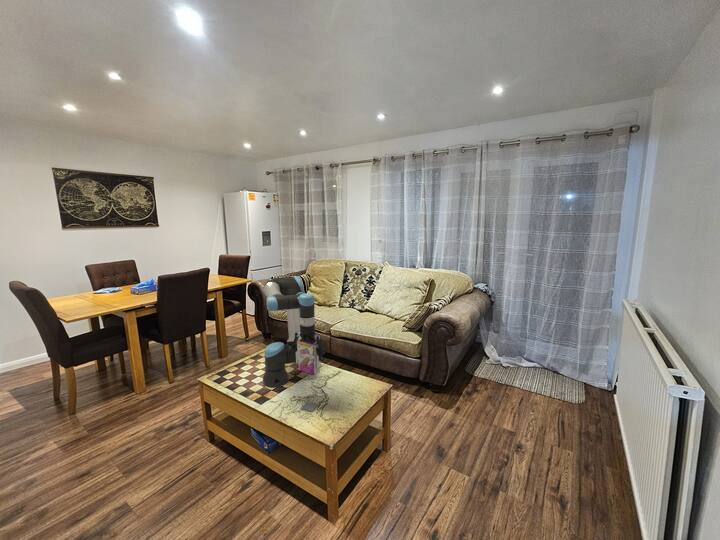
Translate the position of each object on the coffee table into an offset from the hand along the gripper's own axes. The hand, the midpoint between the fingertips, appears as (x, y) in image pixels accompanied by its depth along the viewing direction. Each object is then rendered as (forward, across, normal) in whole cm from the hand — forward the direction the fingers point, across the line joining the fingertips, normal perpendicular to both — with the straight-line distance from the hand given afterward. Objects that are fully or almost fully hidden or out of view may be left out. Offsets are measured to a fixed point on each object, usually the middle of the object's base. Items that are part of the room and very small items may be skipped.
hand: (308, 364), depth 158 cm
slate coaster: (+24, 0, 0) cm, 24 cm away
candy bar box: (+4, 0, 0) cm, 4 cm away
